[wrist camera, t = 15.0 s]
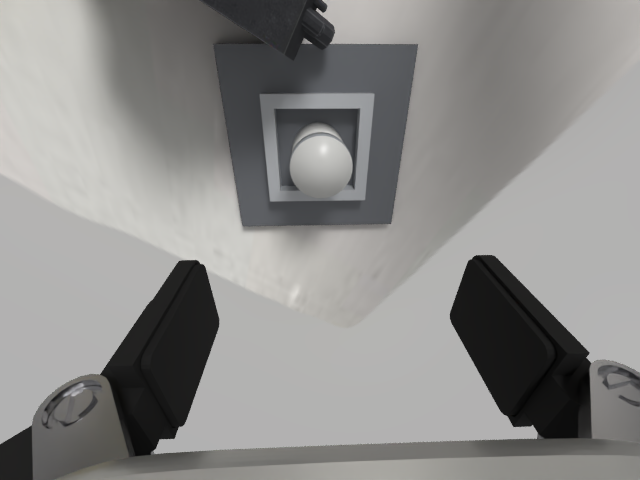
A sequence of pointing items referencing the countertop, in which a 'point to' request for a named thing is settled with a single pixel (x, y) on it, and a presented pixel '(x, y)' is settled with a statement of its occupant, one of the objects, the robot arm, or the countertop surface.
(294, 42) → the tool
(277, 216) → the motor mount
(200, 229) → the countertop surface
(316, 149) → the white domed cylinder
